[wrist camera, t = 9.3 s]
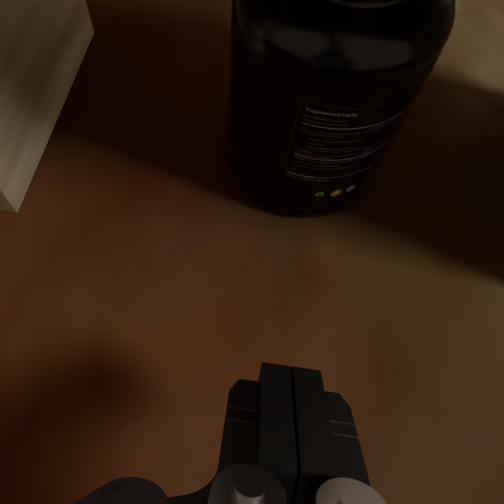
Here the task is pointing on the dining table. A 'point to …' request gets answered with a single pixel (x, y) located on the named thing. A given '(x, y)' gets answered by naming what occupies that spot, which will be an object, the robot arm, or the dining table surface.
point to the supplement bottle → (324, 93)
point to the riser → (35, 82)
